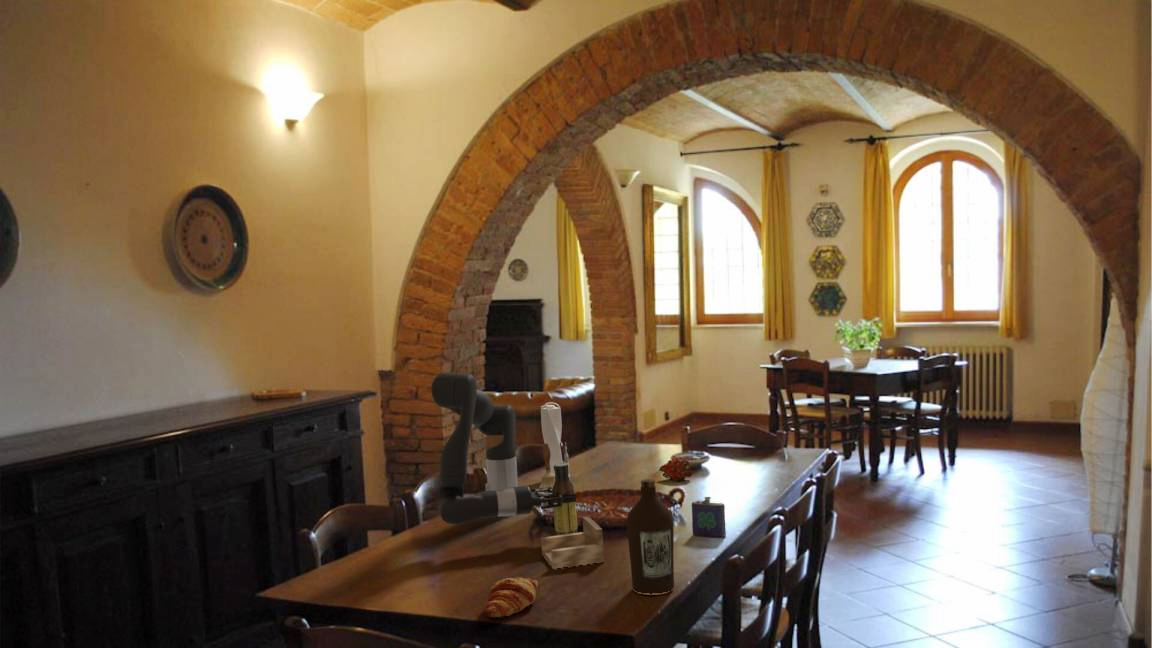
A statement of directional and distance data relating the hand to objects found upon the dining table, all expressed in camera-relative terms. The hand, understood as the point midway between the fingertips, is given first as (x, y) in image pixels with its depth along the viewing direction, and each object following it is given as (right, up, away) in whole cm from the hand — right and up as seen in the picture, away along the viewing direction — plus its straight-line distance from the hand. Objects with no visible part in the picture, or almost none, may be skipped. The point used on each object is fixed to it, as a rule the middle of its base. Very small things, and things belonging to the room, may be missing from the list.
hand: (572, 494), depth 254 cm
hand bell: (-8, -9, +57) cm, 58 cm away
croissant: (-13, -16, -50) cm, 54 cm away
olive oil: (+19, -14, -44) cm, 50 cm away
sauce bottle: (-2, -11, 0) cm, 11 cm away
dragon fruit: (+35, -7, +61) cm, 71 cm away
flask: (+37, -10, -5) cm, 39 cm away
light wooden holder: (0, -13, -18) cm, 22 cm away
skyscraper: (-6, -8, +72) cm, 73 cm away
